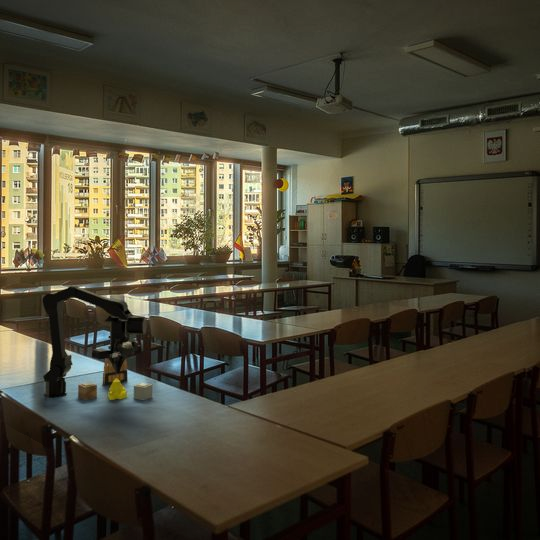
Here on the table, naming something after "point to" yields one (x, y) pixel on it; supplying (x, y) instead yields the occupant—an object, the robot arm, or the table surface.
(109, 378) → the ammunition clip
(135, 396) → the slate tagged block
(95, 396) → the walnut tagged block
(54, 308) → the robot arm
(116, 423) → the table surface
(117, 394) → the crumpled paper
